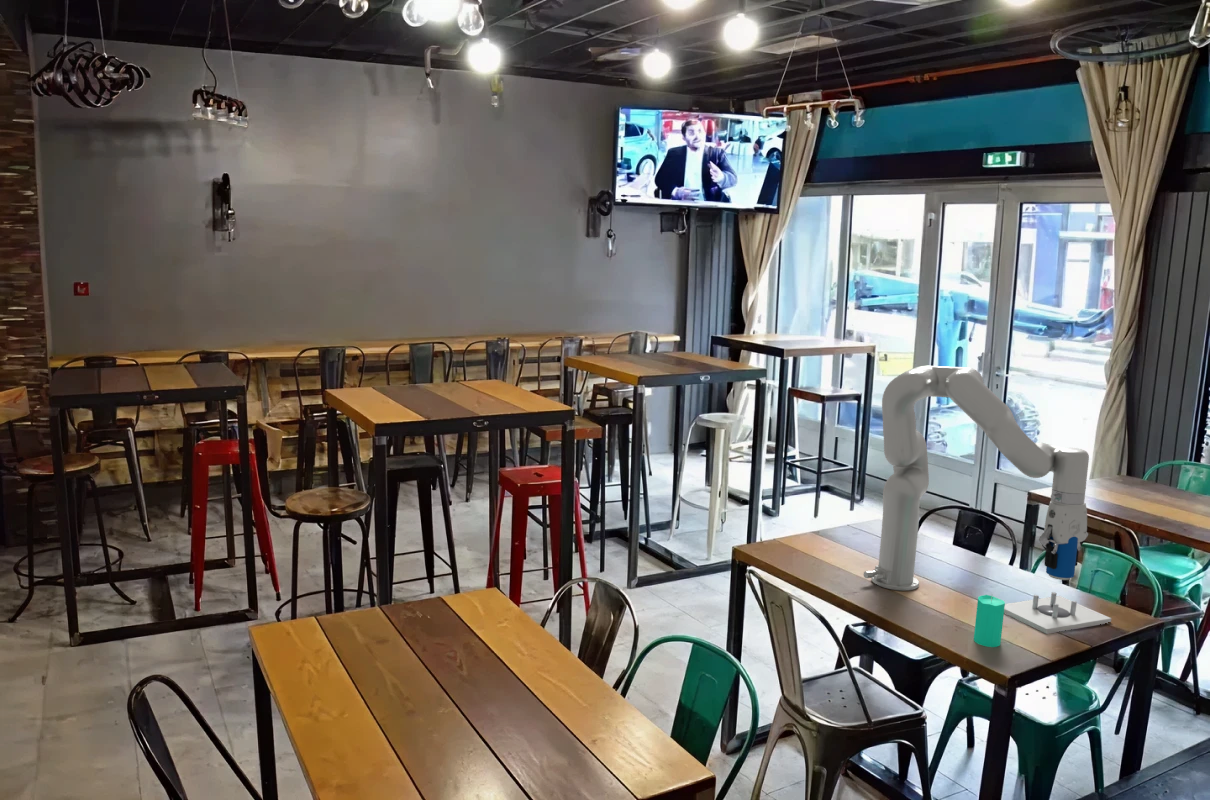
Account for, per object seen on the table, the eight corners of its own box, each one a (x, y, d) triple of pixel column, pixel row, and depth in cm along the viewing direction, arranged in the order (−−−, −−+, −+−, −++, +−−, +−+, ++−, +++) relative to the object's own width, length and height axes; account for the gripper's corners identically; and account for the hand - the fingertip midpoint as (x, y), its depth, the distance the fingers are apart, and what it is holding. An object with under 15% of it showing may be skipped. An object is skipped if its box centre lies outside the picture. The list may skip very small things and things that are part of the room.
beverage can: (1078, 581, 236) (1083, 535, 234) (1052, 580, 236) (1057, 534, 235) (1066, 572, 243) (1071, 527, 241) (1041, 572, 243) (1045, 527, 241)
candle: (969, 636, 227) (974, 588, 225) (994, 637, 227) (1000, 589, 225) (978, 646, 221) (983, 598, 219) (1004, 647, 221) (1009, 599, 219)
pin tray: (1046, 633, 230) (1048, 615, 229) (996, 609, 245) (998, 592, 244) (1110, 622, 239) (1113, 605, 238) (1058, 599, 253) (1060, 583, 252)
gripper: (1054, 504, 230) (1047, 574, 232) (1105, 498, 236) (1098, 566, 239) (1030, 496, 236) (1023, 564, 239) (1080, 490, 243) (1073, 557, 246)
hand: (1060, 565), depth 239 cm, fingers closed on beverage can, 6 cm apart
